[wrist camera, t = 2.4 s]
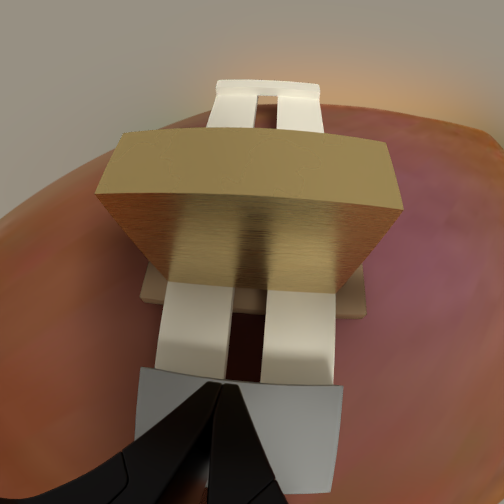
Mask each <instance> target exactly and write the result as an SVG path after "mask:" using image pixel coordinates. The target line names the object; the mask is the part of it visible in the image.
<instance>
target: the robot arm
mask: <svg viewBox="0 0 504 504" xmlns="http://www.w3.org/2000/svg"><path fill="white" fill-rule="evenodd" d="M275 479H276V477H275V475H274V472H273V470H272V468H271V465H270V463H269V461H268V458H267V456H266V454H265V451H264V449H263V446H262V444H261V441H260V439H259V436H258V434H257V431H256V429H255V426H254V424H253V421H252V419H251V416H250V414H249V411H248V408H247V406H246V403H245V400H244V398H243V395H242V392H241V389H240V387H239V385H237V384H230V383H224V384H222V383H221V382H213V381H207V382H206V383H205V384H203V385H202V386H201V387H200V388H199V389H198V390H196V391H195V392H194V393H193V394H192V395H191V396H189V397H188V398H187V399H186V400H185V401H184V402H182V403H181V404H180V405H179V406H178V407H176V408H175V409H174V410H173V411H171V412H170V413H169V414H168V415H167V416H165V417H164V418H163V419H162V420H160V421H159V422H158V423H157V424H155V425H154V426H153V427H152V428H150V429H149V430H148V431H146V432H145V433H144V434H143V435H141V436H140V437H139V438H137V439H136V440H135V441H133V442H132V443H131V444H129V445H128V446H127V447H125V448H124V449H123V450H122V452H118V453H117V454H116V455H114V456H113V457H112V458H110V459H109V460H107V461H106V462H104V463H103V464H101V465H100V466H98V467H96V468H95V469H93V470H91V471H90V472H88V473H86V474H84V475H82V476H80V477H78V478H76V479H74V480H72V481H70V482H68V483H66V484H64V485H61V486H59V487H57V488H54V489H52V490H50V491H47V492H45V493H42V494H40V495H37V496H34V497H30V498H24V499H7V498H0V504H199V503H200V501H201V498H202V495H203V492H204V489H205V486H206V483H207V480H208V493H207V504H288V502H287V500H286V498H285V496H284V494H283V492H282V490H281V488H280V486H279V483H278V481H277V480H275Z"/></svg>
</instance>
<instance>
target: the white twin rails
mask: <svg viewBox="0 0 504 504" xmlns="http://www.w3.org/2000/svg"><path fill="white" fill-rule="evenodd" d="M216 94H217V96H216V99H215V102H214V105H213V108H212V111H211V114H210V117H209V120H208V123H207V126H206V127H241V128H254V125H255V118H256V110H257V102H258V95H263V96H278V107H277V129H285V130H298V131H308V132H318V133H324V130H323V123H322V116H321V110H320V103H319V96H320V88H319V85H318V84H309V83H300V82H288V81H270V80H218V82H217V85H216ZM234 292H235V288H234V287H222V286H210V285H199V284H189V283H178V282H169V281H168V284H167V289H166V295H165V300H164V306H163V312H162V318H161V325H160V331H159V338H158V345H157V353H156V360H155V368H147V367H141V369H140V378H139V387H138V398H137V409H136V423H135V440H136V439H137V438H139V437H140V436H141V435H143V434H144V433H145V432H146V431H148V430H149V429H150V428H152V427H153V426H154V425H155V424H157V423H158V422H159V421H160V420H162V419H163V418H164V417H165V416H167V415H168V414H169V413H170V412H171V411H173V410H174V409H175V408H176V407H178V406H179V405H180V404H181V403H182V402H184V401H185V400H186V399H187V398H188V397H189V396H191V395H192V394H193V393H194V392H195V391H196V390H198V389H199V388H200V387H201V386H202V385H203V384H205V383H206V382H207V381H213V382H221V383H222V384H224V383H230V384H237V385H239V387H240V389H241V392H242V395H243V398H244V400H245V403H246V406H247V408H248V411H249V414H250V416H251V419H252V421H253V424H254V426H255V429H256V431H257V434H258V436H259V439H260V441H261V444H262V446H263V449H264V451H265V454H266V456H267V458H268V461H269V463H270V465H271V468H272V470H273V472H274V475H275V477H276V479H275V480H277V481H278V483H279V486H280V488H281V490H282V492H283V494H310V493H326V492H330V491H331V486H332V480H333V474H334V468H335V461H336V454H337V447H338V438H339V430H340V420H341V409H342V397H343V386H340V385H333V376H334V356H335V315H336V296H335V294H330V293H309V292H292V291H276V290H268V291H267V305H266V318H265V331H264V344H263V356H262V368H261V380H260V382H247V381H236V380H227V379H226V369H227V359H228V349H229V339H230V330H231V320H232V311H233V302H234ZM205 487H207V488H208V480H207V483H206V486H205Z"/></svg>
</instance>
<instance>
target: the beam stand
mask: <svg viewBox="0 0 504 504" xmlns="http://www.w3.org/2000/svg"><path fill="white" fill-rule="evenodd" d="M167 284H168V281H167V280H166V279H165V278H164V277H163V275H162V274H161V273H160V272H159V271H158V270H157V269H156V268H155V267H154V265H153V264H152V263H151V262H150V261H149V263H148V267H147V270H146V274H145V278H144V281H143V285H142V289H141V293H140V298H141V299H142V300H143V301H144V302H146V303H153V304H161V305H164V300H165V295H166V289H167ZM267 291H268V290H261V289H247V288H235V292H234V302H233V311H232V312H234V313H246V314H259V315H266V305H267ZM335 296H336V315H335V318H341V319H362V318H363V317H364V316H366V315H367V313H366V299H365V287H364V276H363V267H362V264H361V265H360V266H359V267H358V268H357V270H356V271H355V272H354V273H353V274H352V275H351V277H350V278H349V279H348V280H347V281H346V282H345V284H344V285H343V286H342V287H341V288H340V289H339V290H338V292H337V293H336V294H335Z"/></svg>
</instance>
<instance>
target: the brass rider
mask: <svg viewBox="0 0 504 504" xmlns="http://www.w3.org/2000/svg"><path fill="white" fill-rule="evenodd" d="M95 195H96V196H97V198H98V199H99V200H100V202H101V203H102V204H103V206H104V207H105V208H106V209H107V211H108V212H109V213H110V214H111V216H112V217H113V218H114V219H115V221H116V222H117V223H118V224H119V226H120V227H121V228H122V229H123V230H124V232H125V233H126V234H127V235H128V236H129V238H130V239H131V240H132V241H133V242H134V244H135V245H136V246H137V247H138V248H139V249H140V251H141V252H142V253H143V254H144V255H145V256H146V258H147V259H148V260H149V261H150V262H151V263H152V264H153V265H154V267H155V268H156V269H157V270H158V271H159V272H160V273H161V274H162V275H163V277H164V278H165V279H166V280H167V281H169V282H178V283H189V284H199V285H210V286H222V287H234V288H247V289H261V290H276V291H292V292H309V293H330V294H336V293H337V292H338V290H339V289H340V288H341V287H342V286H343V285H344V284H345V282H346V281H347V280H348V279H349V278H350V277H351V275H352V274H353V273H354V272H355V271H356V270H357V268H358V267H359V266H360V265H361V264H362V262H363V261H364V260H365V259H366V258H367V256H368V255H369V254H370V253H371V252H372V250H373V249H374V248H375V247H376V245H377V244H378V243H379V242H380V240H381V239H382V238H383V236H384V235H385V234H386V233H387V231H388V230H389V229H390V227H391V226H392V225H393V224H394V222H395V221H396V220H397V218H398V217H399V216H400V214H401V213H402V211H403V210H404V209H403V204H402V200H401V196H400V192H399V188H398V184H397V180H396V176H395V172H394V169H393V165H392V162H391V158H390V155H389V152H388V149H387V146H386V143H385V142H379V141H374V140H368V139H362V138H356V137H349V136H342V135H335V134H327V133H318V132H308V131H298V130H285V129H269V128H241V127H205V128H178V129H161V130H150V131H139V132H129V133H124V134H123V135H122V137H121V139H120V141H119V143H118V145H117V147H116V149H115V151H114V153H113V155H112V157H111V159H110V161H109V163H108V165H107V167H106V169H105V171H104V173H103V176H102V178H101V180H100V182H99V185H98V187H97V189H96V192H95Z"/></svg>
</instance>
